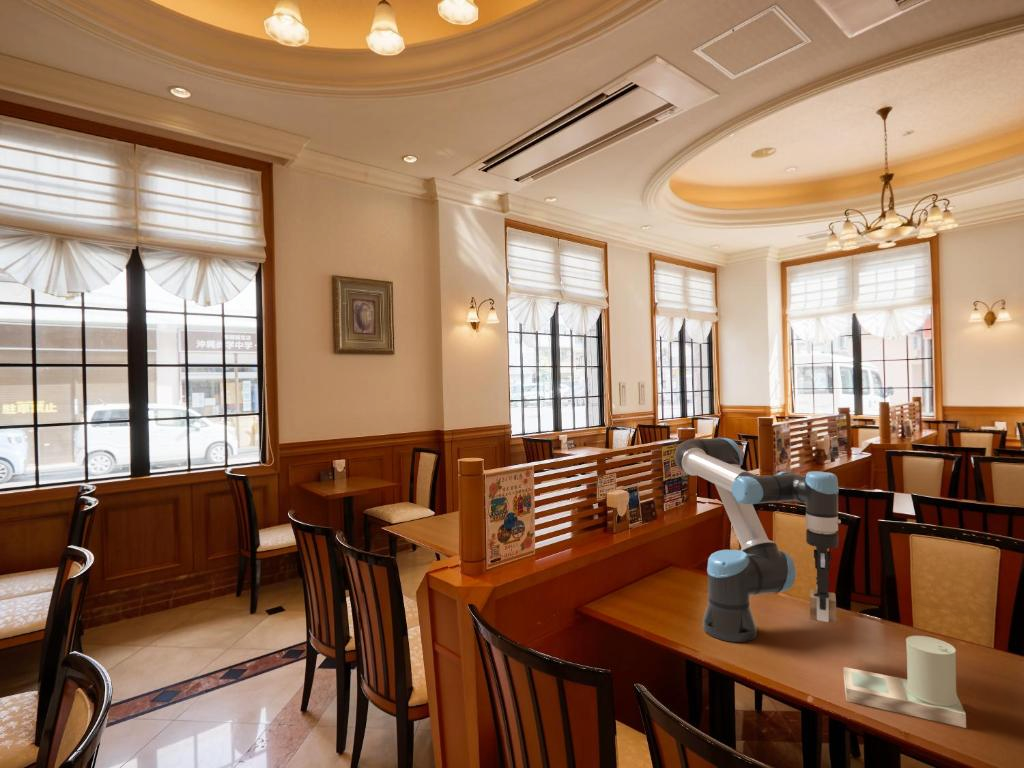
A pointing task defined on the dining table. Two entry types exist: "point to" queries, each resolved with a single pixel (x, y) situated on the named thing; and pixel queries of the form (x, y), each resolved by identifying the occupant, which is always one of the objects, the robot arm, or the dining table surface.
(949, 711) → the board
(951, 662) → the can
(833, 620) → the cube
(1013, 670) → the dining table surface
